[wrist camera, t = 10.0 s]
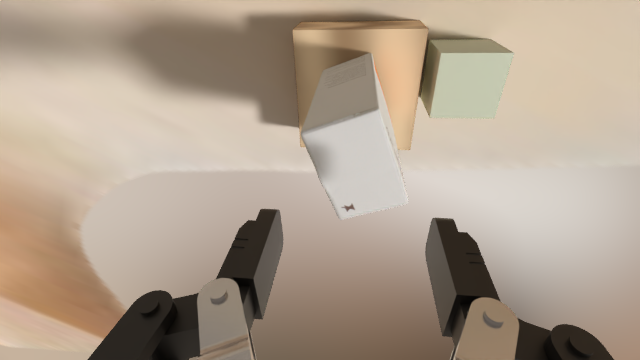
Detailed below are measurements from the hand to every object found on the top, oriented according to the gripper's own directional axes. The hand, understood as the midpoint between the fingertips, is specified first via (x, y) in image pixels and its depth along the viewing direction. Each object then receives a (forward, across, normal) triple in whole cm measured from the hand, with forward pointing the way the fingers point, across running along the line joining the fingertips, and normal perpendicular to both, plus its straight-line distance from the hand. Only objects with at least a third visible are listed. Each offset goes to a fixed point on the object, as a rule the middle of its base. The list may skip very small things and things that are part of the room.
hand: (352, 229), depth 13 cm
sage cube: (+20, -8, -1) cm, 22 cm away
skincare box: (+16, 0, 0) cm, 16 cm away
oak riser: (+20, 0, 0) cm, 20 cm away
